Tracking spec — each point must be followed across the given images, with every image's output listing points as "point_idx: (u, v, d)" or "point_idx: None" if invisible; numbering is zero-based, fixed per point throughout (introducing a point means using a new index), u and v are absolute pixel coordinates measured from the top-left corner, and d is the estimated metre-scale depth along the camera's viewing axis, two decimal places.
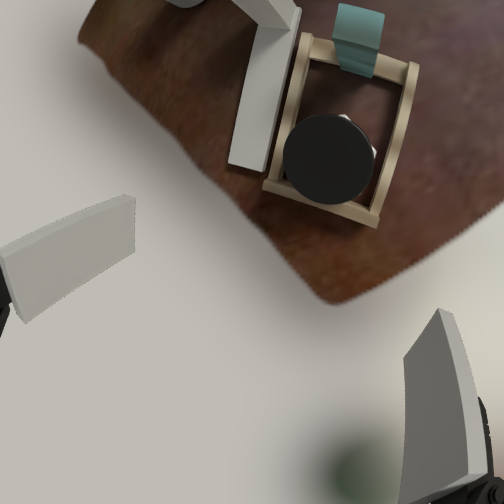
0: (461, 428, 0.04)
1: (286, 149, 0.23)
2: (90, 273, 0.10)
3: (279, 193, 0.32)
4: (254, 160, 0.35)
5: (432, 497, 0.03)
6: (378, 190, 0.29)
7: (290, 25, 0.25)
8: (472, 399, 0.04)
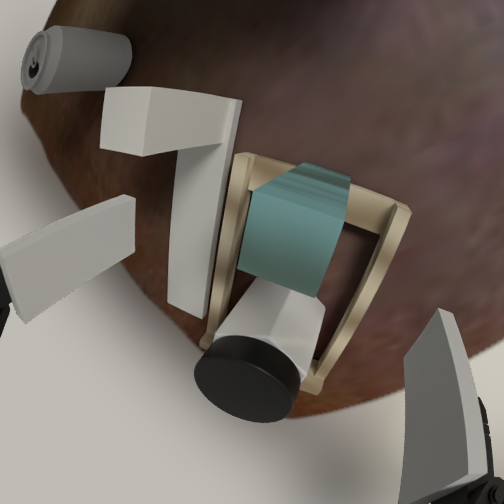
0: (461, 428, 0.04)
1: (196, 375, 0.20)
2: (91, 273, 0.10)
3: None
4: (192, 307, 0.32)
5: (432, 497, 0.03)
6: (325, 360, 0.26)
7: (220, 137, 0.22)
8: (472, 399, 0.04)
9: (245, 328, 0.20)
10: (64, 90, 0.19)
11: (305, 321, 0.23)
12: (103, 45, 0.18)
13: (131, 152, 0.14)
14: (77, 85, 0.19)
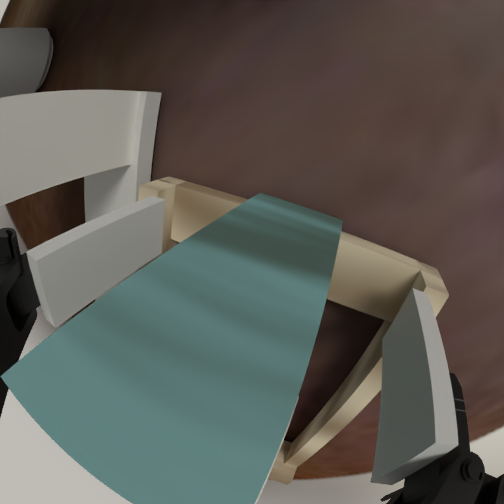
0: (429, 398, 0.05)
1: None
2: (121, 274, 0.10)
3: None
4: None
5: (404, 471, 0.04)
6: (296, 454, 0.17)
7: (123, 157, 0.12)
8: (442, 371, 0.05)
9: None
10: None
11: None
12: (9, 44, 0.09)
13: None
14: None
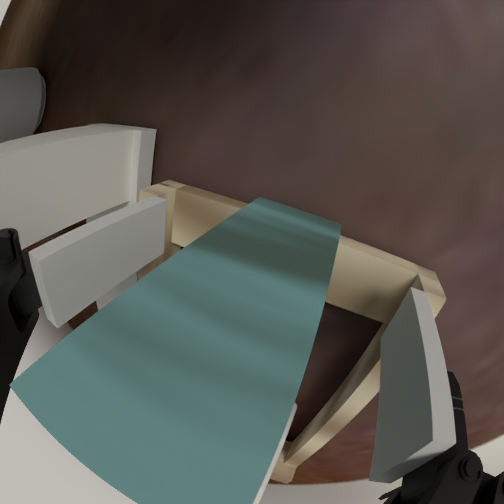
0: (427, 396, 0.05)
1: None
2: (123, 274, 0.10)
3: None
4: None
5: (402, 469, 0.04)
6: (296, 454, 0.17)
7: (122, 194, 0.13)
8: (440, 369, 0.05)
9: None
10: None
11: None
12: (1, 93, 0.11)
13: None
14: None
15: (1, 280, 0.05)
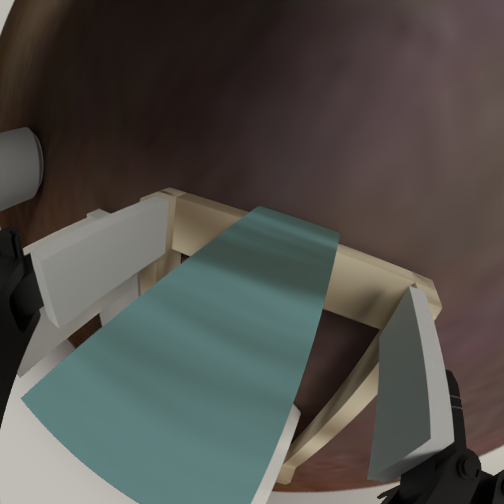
0: (425, 394, 0.05)
1: None
2: (125, 275, 0.10)
3: None
4: None
5: (400, 467, 0.04)
6: (295, 455, 0.17)
7: (126, 285, 0.16)
8: (438, 368, 0.06)
9: None
10: None
11: None
12: None
13: None
14: None
15: (2, 280, 0.05)
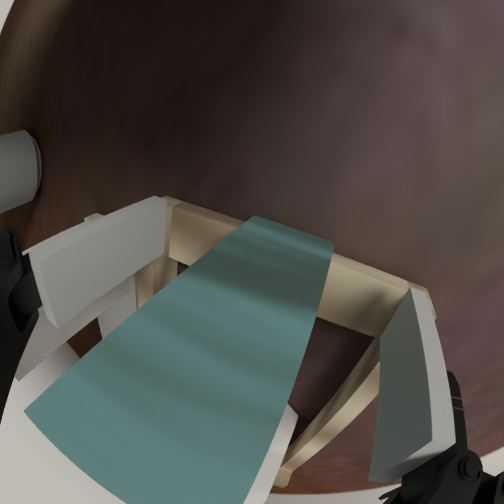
0: (426, 396, 0.05)
1: None
2: (123, 274, 0.10)
3: None
4: None
5: (402, 469, 0.04)
6: (292, 459, 0.17)
7: (123, 289, 0.16)
8: (439, 369, 0.05)
9: None
10: None
11: None
12: None
13: None
14: None
15: (1, 280, 0.05)
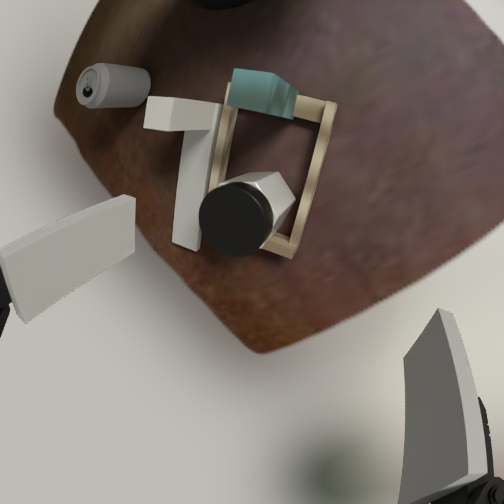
0: (461, 428, 0.04)
1: (201, 209, 0.30)
2: (91, 273, 0.10)
3: None
4: (190, 242, 0.46)
5: (432, 497, 0.03)
6: (295, 225, 0.37)
7: (209, 126, 0.36)
8: (472, 399, 0.04)
9: (240, 181, 0.31)
10: (107, 106, 0.34)
11: (280, 193, 0.34)
12: (133, 78, 0.33)
13: (162, 129, 0.28)
14: (116, 104, 0.35)
15: None
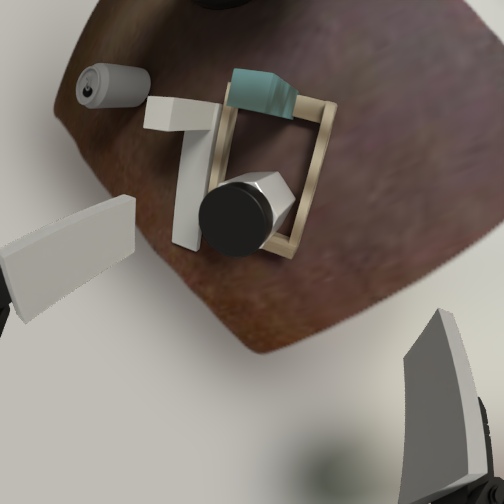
0: (461, 428, 0.04)
1: (201, 209, 0.30)
2: (91, 273, 0.10)
3: None
4: (189, 242, 0.46)
5: (432, 497, 0.03)
6: (294, 225, 0.37)
7: (209, 126, 0.36)
8: (472, 399, 0.04)
9: (239, 181, 0.31)
10: (107, 106, 0.34)
11: (279, 193, 0.34)
12: (133, 78, 0.33)
13: (162, 129, 0.28)
14: (116, 104, 0.35)
15: None
